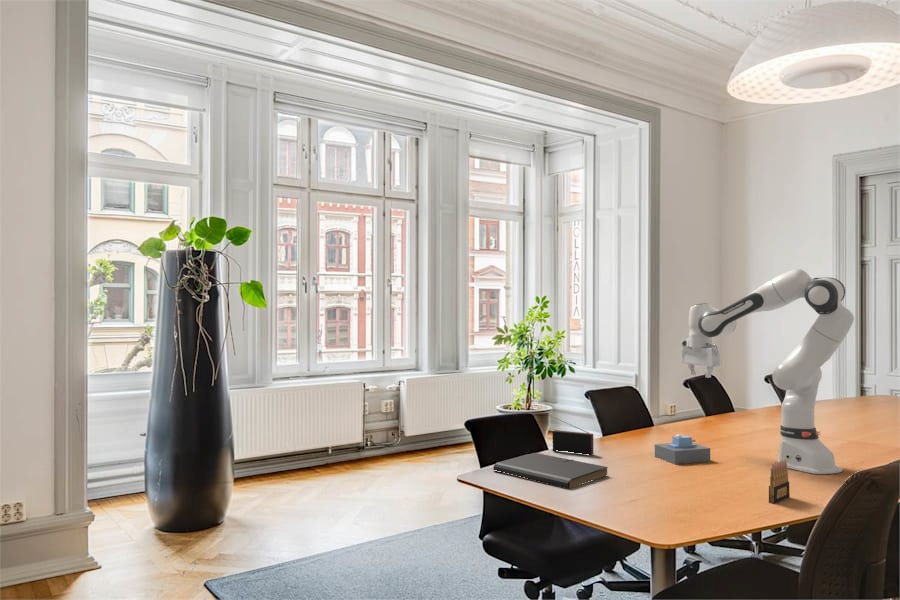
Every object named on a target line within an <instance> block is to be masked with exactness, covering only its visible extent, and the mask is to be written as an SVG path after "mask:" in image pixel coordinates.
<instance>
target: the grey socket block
mask: <svg viewBox="0 0 900 600" xmlns="http://www.w3.org/2000/svg"><path fill="white" fill-rule="evenodd" d="M692 443H693V444H696V446H695V447H687V448H672V447H669V446H668V444H672V442H668V443H666V442H665V443H654V458H656V457H658V458H657V459H659V458H660V460H662V459H663V461H665V460H666V461H665V462H667V461H669V462H668V463H670V462H671V464H673V463H674V464H673V465H679V464H678V463H684V464H693V463H692V462H695V463H704V462H705V461H707V462H711V448H710V447H708V446H704V445H700V444H699V443H695V442H692Z"/></svg>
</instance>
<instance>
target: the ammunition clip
mask: <svg viewBox="0 0 900 600" xmlns="http://www.w3.org/2000/svg"><path fill="white" fill-rule="evenodd" d="M790 495H791V494H790V481H789V471H788V468H787V462H786V459H784V461H783V460H782V462H781V461H780V462H777V461H776V462H774V463H772V464H771V466H770V476H769V486H768V504H772V505H776V504H779V503H781V502H783V501H785V500H787V499H790Z"/></svg>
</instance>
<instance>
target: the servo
mask: <svg viewBox="0 0 900 600" xmlns="http://www.w3.org/2000/svg"><path fill="white" fill-rule="evenodd" d="M671 439H672V440H671V443H672V444H668V446H669V447H672V448H687V447H695V446H696V444H697V443H695V442H696V439H693V437H692V436H689V435H681V434H676V435H672V438H671ZM693 443H695V444H693Z"/></svg>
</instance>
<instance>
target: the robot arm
mask: <svg viewBox="0 0 900 600" xmlns="http://www.w3.org/2000/svg"><path fill="white" fill-rule="evenodd" d="M845 296H846V287H845V285H844V284H843V283H842V282H841V281H840V280H839V279H837V278H835V277H834V278H833V277H814V278H811V276H810V275H809V274H808V273H807V271H805V270H803V269H801V268H795V269H792V270H788V271H785V272H783V273H781V274H779V275H777V276H775V277H773V278H771V279H769V280H768V281H766V282H764V283H763V284H761V285H760V286H759V287H757V288H756V289H755V290H753V291H751V292H750V293H749V294H747V295H745V296H744V297H742V298H740V299H739V300H737V301H733V302H732V303H730V304H729V305H727V306H725V307H723V308H721V309H718V308H716V307H714V306H712V305H711V304H710V303H707V302H705V303H704V302H703V303H698V304H694V305H692V306H690V309H689V313H688V327H689V332H688V337H687V338H686V339H684V340H682V341H680V345H681V349H680V351H681V353H680V354H681V357H680V358H681V362H682V363H683V364H684V365H685V364H686V365H688V369H689V372H690V373H689V374H690V376H696V375H697V371H696V370H695V366H702V367H706V370H707V371H706V372H705V373H704V375H705V376H704V377H705V378H707V379H709V378H712V373H713V371H714V368H718V367H720V365H721V357H720V351H719V348H718V346H717V345H716V344H715V343H712V338H714V337H718V336H719V337H720V336H727V335H730V334H731V333H733V332H734V331H735V330H736V326H737V320H739V319H741V318H743V317H745V316H748V315H751V314H754V313H759V312H760V313H761V312H770V311H775V310H777V309H780V308H782V307H785V306H787V305H789V304H791V303H793V302H795V301H796V300H798V299H802V298H803V299H805V302H806V303H807V305H809V306H810V307H811V308H812V309H813V310H814V311H815V312H816V313H817V314H818V317H817V318H816V320H815V321H814V323H813V324H812V325H811V327H810V328H809V330H808V332H807V333H806V334H805V335H804V337H803V338H802V340H801V341H800V343H799V344H797V346H796V347H795V348H794V349H793V350H792V351H791V352H790V353H789V354H788V355H787V356H786V357H785V358H784V360H783V361H782V362H780V364H778V366H776V367H775V368H774V369H773V371H772V373H771V374H772V376H771V377H772V381H773V383H774V385H775V386H776V387H777V388H779V389H781V390H783V391H785V396H784V398H783V401H782V402H781V409H780V410H781V425H780V428H779V431H780V435H781V436H780V437H781V439H780V442H779V443H780V444H779V451H778V457H777V460H776V463H777V462H780V461H781V462H782V460H783V461H784V459H786V462H787V469H791V470H796V471H800V472H804V473H809V474H814V475H815V474H816V475H827V474H829V475H830V474H832V475H833V474H838V473H842V472H843V471H844V470H843V468H842V467H840V466H837V465H836V461H835V460H836V459H835V456H834V453H833V451H831V450H830V449H829V448H828V447H827V446H826V445H825V444H824V443H823V441H821V440H820V439H819V438H820V437H819V436H820V435H821V431H817V429H816V427H815V406H816V399H817V395H818V391H819V384H820V382H821V379H822V378H823V372H822V369H821V367H822V366H824V364H825V363H826V362H827V361H829V360H830V359H831V358H832V356H833V355H834V353H835V352H836V351H837V349H838V348H839V347H840V345H841V344H842V342H843V341H844V339H845V338H846V337H847V335H848V333H849V331H850V329H851V328H852V325H853V323H854V320H855V316H854V314H853V313H852V311H851V310H849V309H848V308H846V307H845V306H844V305H843V303H842V301H843V300H844V298H845Z"/></svg>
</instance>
